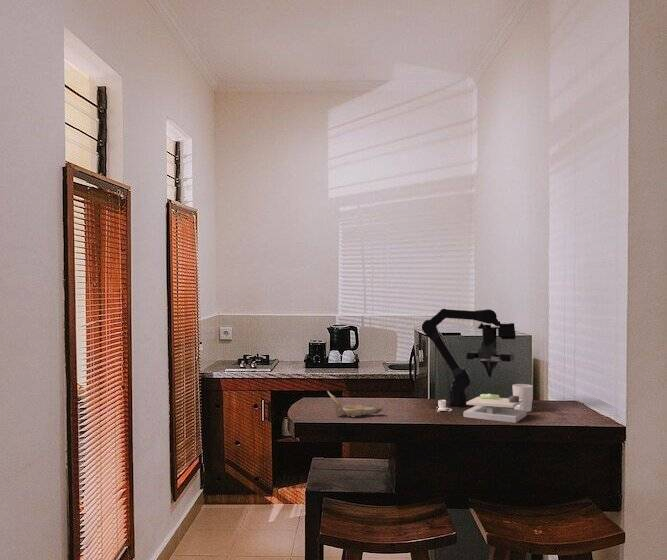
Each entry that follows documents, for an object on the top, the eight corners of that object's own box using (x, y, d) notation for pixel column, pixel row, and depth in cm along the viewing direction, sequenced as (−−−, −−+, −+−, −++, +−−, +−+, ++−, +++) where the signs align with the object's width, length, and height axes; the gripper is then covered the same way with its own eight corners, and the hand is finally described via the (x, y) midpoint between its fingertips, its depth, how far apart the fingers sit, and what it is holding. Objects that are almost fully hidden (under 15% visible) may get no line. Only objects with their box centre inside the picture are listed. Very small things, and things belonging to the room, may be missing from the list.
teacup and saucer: (445, 413, 244) (445, 403, 244) (427, 411, 249) (427, 401, 249) (455, 410, 251) (455, 400, 251) (438, 407, 256) (438, 398, 256)
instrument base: (463, 416, 236) (463, 405, 236) (476, 410, 248) (476, 399, 248) (515, 422, 225) (515, 410, 225) (526, 415, 237) (526, 403, 237)
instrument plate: (466, 404, 236) (465, 396, 236) (478, 399, 247) (477, 391, 247) (513, 407, 226) (513, 399, 226) (524, 401, 237) (523, 393, 237)
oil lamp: (327, 414, 245) (327, 389, 245) (381, 413, 245) (381, 388, 245) (328, 419, 236) (327, 392, 236) (383, 418, 237) (383, 392, 237)
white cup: (510, 411, 245) (510, 386, 245) (514, 407, 252) (514, 383, 252) (531, 413, 242) (530, 387, 242) (534, 409, 248) (534, 384, 249)
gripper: (460, 340, 255) (461, 378, 255) (505, 342, 244) (506, 381, 244) (470, 338, 264) (471, 374, 264) (514, 339, 254) (514, 377, 254)
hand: (490, 377), depth 256 cm, fingers closed
